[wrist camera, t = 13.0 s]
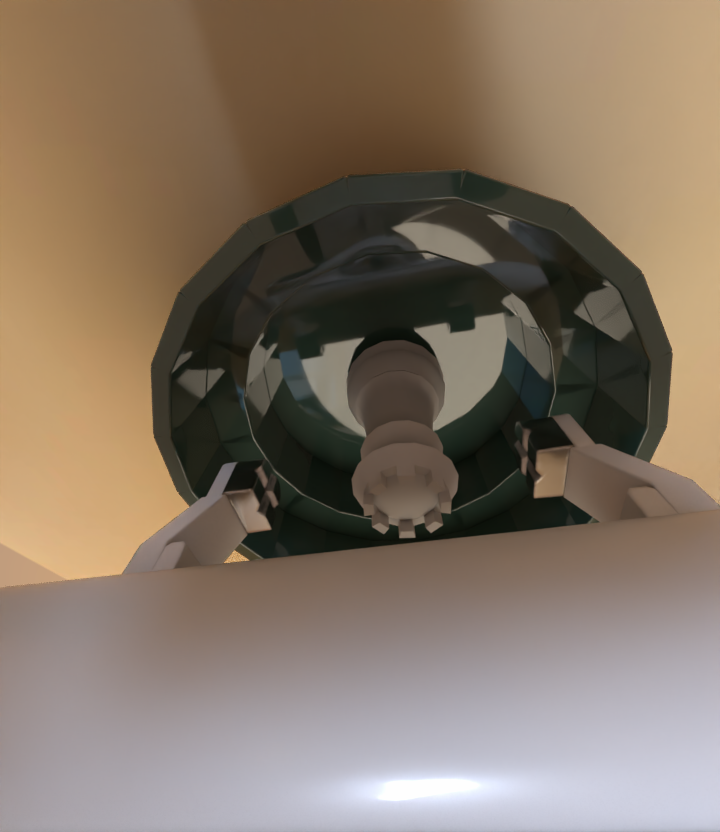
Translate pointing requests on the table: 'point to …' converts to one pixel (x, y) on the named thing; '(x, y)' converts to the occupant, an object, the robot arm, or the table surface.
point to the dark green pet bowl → (414, 322)
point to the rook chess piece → (400, 437)
